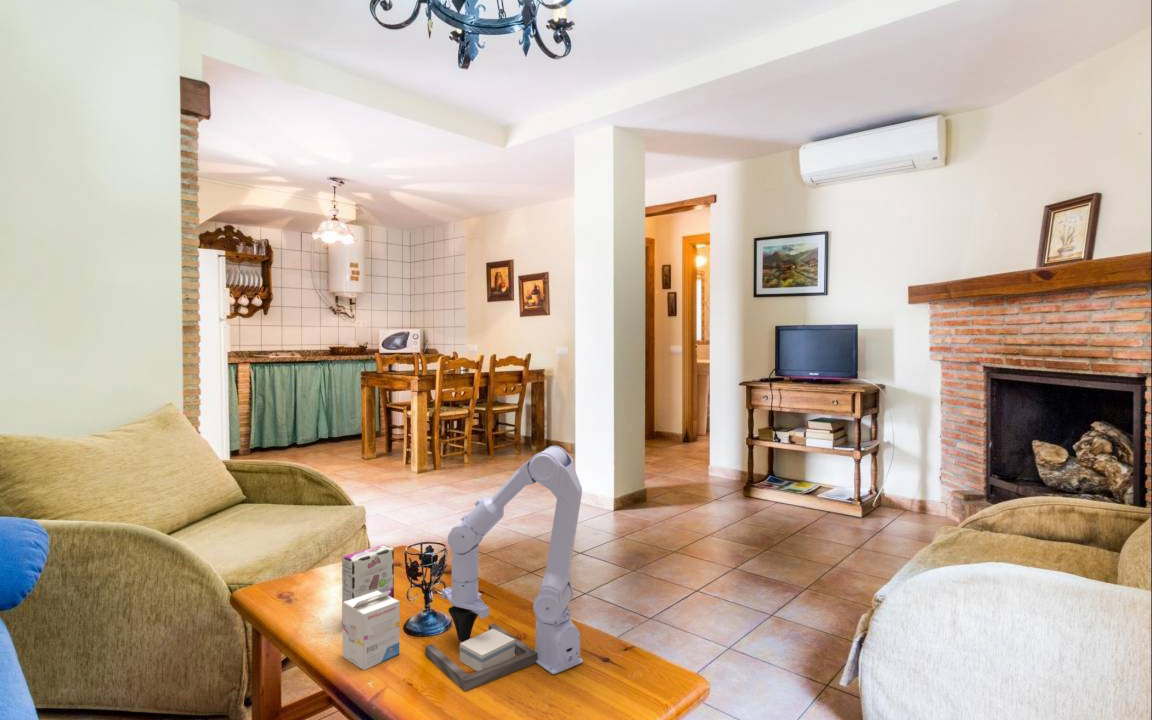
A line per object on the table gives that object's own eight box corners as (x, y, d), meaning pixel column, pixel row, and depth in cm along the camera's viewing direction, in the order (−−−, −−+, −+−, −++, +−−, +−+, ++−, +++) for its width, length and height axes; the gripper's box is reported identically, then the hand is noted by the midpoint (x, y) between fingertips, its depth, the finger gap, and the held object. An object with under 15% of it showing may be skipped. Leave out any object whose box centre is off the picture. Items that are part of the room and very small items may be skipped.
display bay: (537, 662, 126) (537, 653, 126) (464, 691, 115) (465, 680, 115) (494, 632, 139) (494, 623, 139) (425, 655, 128) (425, 645, 128)
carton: (514, 658, 128) (515, 639, 128) (481, 675, 121) (482, 655, 121) (492, 646, 133) (492, 628, 133) (459, 662, 126) (459, 643, 126)
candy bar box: (382, 609, 149) (382, 543, 149) (394, 615, 146) (395, 548, 146) (340, 626, 140) (341, 555, 140) (352, 632, 137) (353, 560, 137)
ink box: (377, 641, 133) (378, 581, 133) (400, 654, 128) (401, 591, 128) (341, 657, 127) (341, 593, 126) (363, 671, 121) (364, 605, 121)
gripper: (500, 582, 130) (499, 645, 130) (460, 564, 140) (459, 622, 140) (474, 591, 125) (473, 656, 125) (434, 572, 135) (433, 632, 135)
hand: (464, 639), depth 132 cm, fingers closed
